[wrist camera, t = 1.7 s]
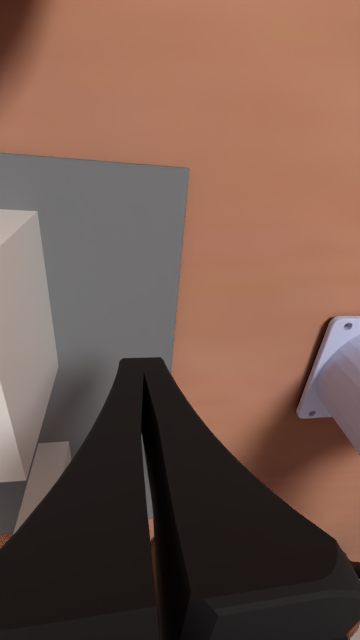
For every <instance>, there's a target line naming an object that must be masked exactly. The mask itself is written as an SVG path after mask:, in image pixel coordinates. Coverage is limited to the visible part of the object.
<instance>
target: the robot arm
mask: <svg viewBox="0 0 360 640" xmlns="http://www.w3.org/2000/svg"><path fill="white" fill-rule="evenodd" d="M347 323H348V324H347ZM346 324H347V325H346ZM345 325H346V326H345ZM344 326H345V327H344ZM296 413H297V415H298V417H299V418H302V419H306V418H324V417H333V418H334V420H335V421H336V423H337V424H338V425H339V427H340V428H341V430H342V431H343V432H344V434H345V435H346V437H347V438H348V439H349V441H350V442H351V444H352V445H353V446H354V448H355V449H356V450H357V452H358V453H359V455H360V316H338V317H335V318H333V319H332V320H331V321H330V323H329V325H328V327H327V330H326V333H325V335H324V338H323V341H322V343H321V346H320V349H319V351H318V354H317V357H316V359H315V362H314V365H313V367H312V370H311V373H310V375H309V378H308V381H307V383H306V386H305V389H304V391H303V394H302V397H301V399H300V402H299V405H298V407H297V410H296ZM141 436H142V438H143V445H144V452H145V459H146V466H147V472H148V479H149V486H150V493H151V500H152V509H153V521H154V537H155V554H156V572H157V590H158V610H159V628H158V613H157V601H156V592H155V583H154V574H153V564H152V554H151V544H150V534H149V524H148V513H147V502H146V491H145V479H144V467H143V454H142V441H141ZM359 621H360V580H359V578H358V576H357V574H356V572H355V571H354V569H353V567H352V565H351V564H350V562H349V560H348V559H347V557H346V556H345V554H344V552H343V551H342V549H341V548H340V546H339V545H338V543H337V541H336V540H335V539H334V538H333V537H331V536H330V535H328V534H327V533H326V532H324V531H323V530H322V529H320V528H319V527H317V526H316V525H315V524H313V523H312V522H311V521H309V520H308V519H306V518H305V517H304V516H302V515H301V514H299V513H298V512H297V511H295V510H294V509H293V508H292V507H290V506H289V505H288V504H287V503H285V502H284V501H283V500H282V499H281V498H279V497H278V496H277V495H276V494H274V493H273V492H272V491H271V490H270V489H269V488H267V487H266V486H265V485H264V484H263V483H262V482H261V481H260V480H259V479H258V478H256V477H255V476H254V475H253V474H252V473H251V472H250V471H249V470H248V469H246V468H245V467H244V466H243V465H242V464H241V463H240V462H239V461H238V460H237V459H236V458H235V457H234V456H233V455H232V454H231V453H230V452H229V451H228V450H227V449H226V448H225V447H224V445H223V444H222V443H221V442H220V441H219V440H218V439H217V438H216V437H215V435H214V434H213V433H212V432H211V431H210V430H209V428H208V427H207V426H206V425H205V423H204V422H203V421H202V420H201V418H200V417H199V416H198V415H197V413H196V412H195V411H194V409H193V408H192V406H191V405H190V404H189V402H188V401H187V399H186V398H185V396H184V395H183V393H182V392H181V390H180V389H179V387H178V386H177V384H176V382H175V381H174V379H173V377H172V375H171V374H170V372H169V370H168V368H167V366H166V364H165V362H164V360H163V359H162V358H161V357H148V358H122V359H121V360H120V361H119V367H118V371H117V374H116V377H115V380H114V383H113V385H112V388H111V390H110V392H109V395H108V397H107V399H106V401H105V404H104V406H103V408H102V410H101V412H100V413H99V415H98V417H97V419H96V421H95V423H94V425H93V427H92V428H91V430H90V432H89V434H88V435H87V437H86V439H85V440H84V442H83V444H82V445H81V447H80V448H79V450H78V451H77V453H76V454H75V456H74V457H73V459H72V460H71V462H70V463H69V465H68V466H67V468H66V469H65V470H64V472H63V473H62V475H61V476H60V477H59V479H58V480H57V482H56V483H55V484H54V486H53V487H52V488H51V489H50V491H49V492H48V493H47V495H46V496H45V497H44V498H43V500H42V501H41V502H40V503H39V504H38V506H37V507H36V508H35V509H34V511H33V512H32V513H31V514H30V515H29V517H28V518H27V519H26V520H25V521H24V523H23V524H22V525H21V526H20V528H19V529H18V530H17V531H16V532H15V533H14V535H13V536H12V537H11V538H10V539H9V540H8V541H7V542H6V543H5V545H4V546H3V547H2V548H1V549H0V640H159V629H160V640H348V638H347V636H346V634H347V633H348V632H349V631H350V630H351V629H352V628H353V627H354V626H355V625H356V624H357V623H358V622H359Z"/></svg>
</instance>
